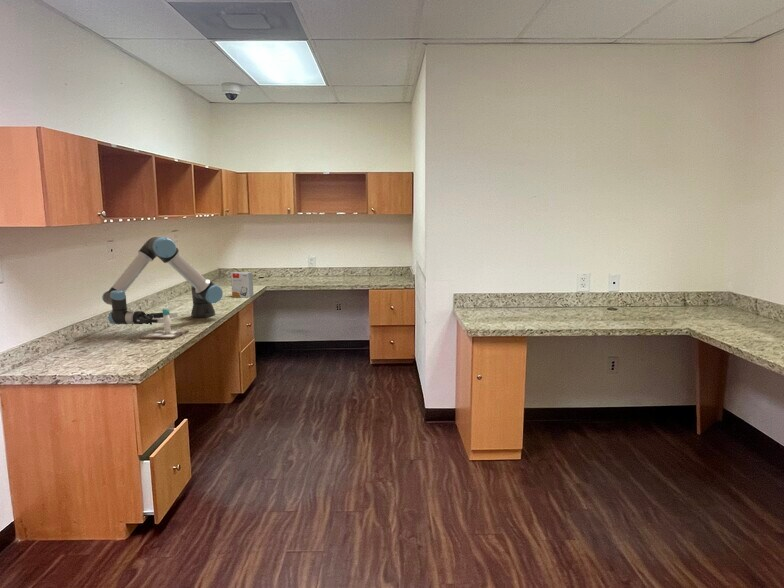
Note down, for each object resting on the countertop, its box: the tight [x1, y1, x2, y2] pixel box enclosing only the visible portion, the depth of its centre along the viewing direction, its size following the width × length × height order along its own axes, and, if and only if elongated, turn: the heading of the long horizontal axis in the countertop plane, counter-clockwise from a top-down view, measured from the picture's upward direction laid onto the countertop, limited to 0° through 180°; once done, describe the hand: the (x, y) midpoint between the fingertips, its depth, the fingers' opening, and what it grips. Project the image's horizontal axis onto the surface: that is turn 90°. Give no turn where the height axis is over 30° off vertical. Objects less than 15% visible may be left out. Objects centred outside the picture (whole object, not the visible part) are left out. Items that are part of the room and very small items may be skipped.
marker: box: [161, 308, 172, 334], centre depth 285 cm, size 3×3×14 cm
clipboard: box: [139, 329, 190, 340], centre depth 286 cm, size 16×20×2 cm
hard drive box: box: [230, 271, 255, 299], centre depth 405 cm, size 16×8×20 cm, turn 77°
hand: (170, 317), depth 284 cm, fingers open, 13 cm apart
